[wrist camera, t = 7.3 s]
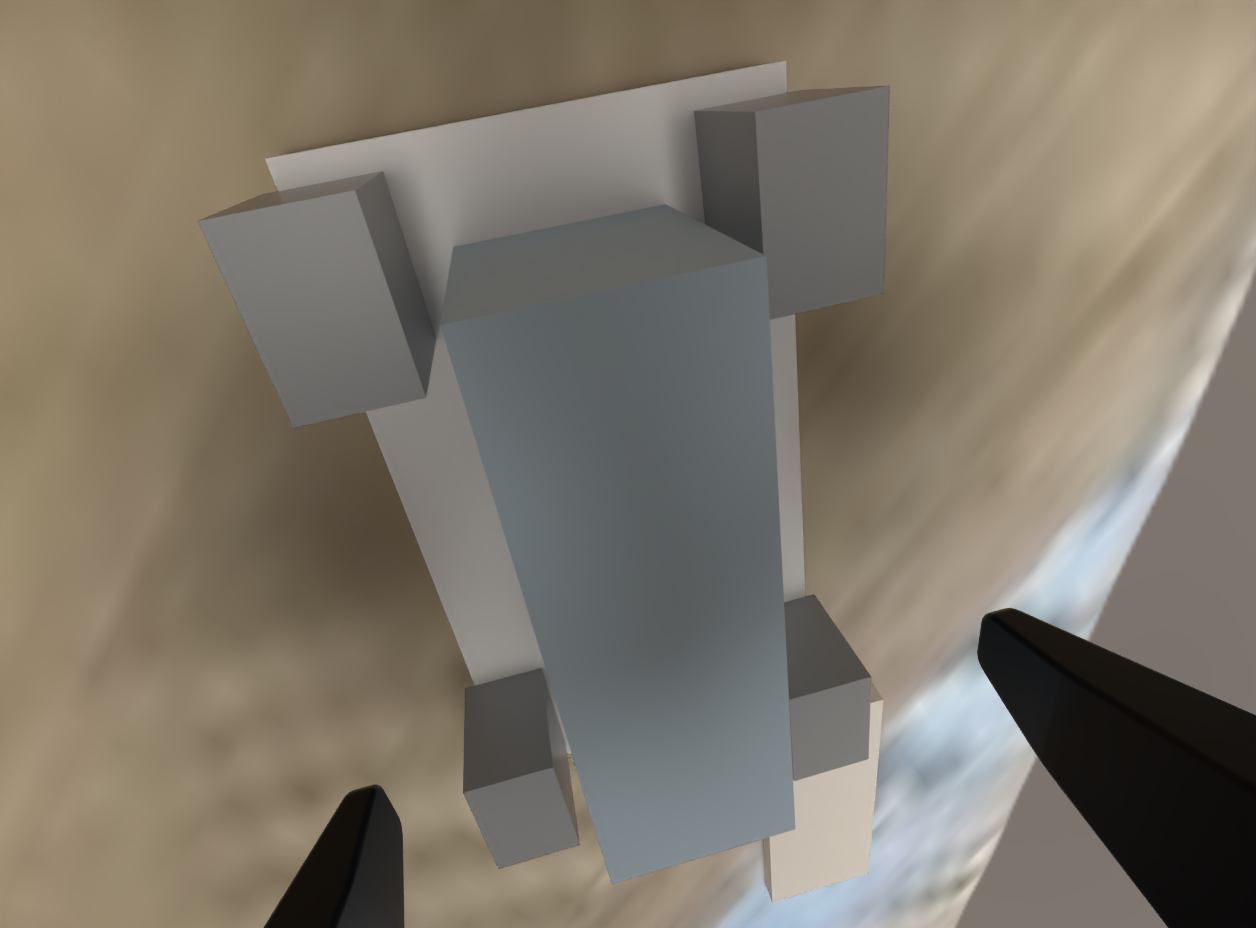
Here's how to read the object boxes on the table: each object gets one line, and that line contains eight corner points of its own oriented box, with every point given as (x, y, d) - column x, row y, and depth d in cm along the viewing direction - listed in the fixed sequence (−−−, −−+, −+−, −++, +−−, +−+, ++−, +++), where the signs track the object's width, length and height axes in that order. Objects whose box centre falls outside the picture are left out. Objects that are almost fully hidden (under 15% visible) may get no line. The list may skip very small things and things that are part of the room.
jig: (802, 659, 20) (868, 771, 17) (498, 744, 20) (503, 880, 16) (777, 61, 13) (890, 43, 9) (265, 158, 12) (177, 179, 8)
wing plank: (853, 844, 27) (868, 873, 26) (760, 871, 27) (772, 902, 26) (864, 672, 22) (883, 699, 21) (751, 702, 22) (764, 732, 21)
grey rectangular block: (720, 659, 18) (795, 829, 14) (579, 697, 18) (611, 884, 14) (665, 204, 12) (766, 256, 8) (453, 247, 12) (440, 325, 8)
